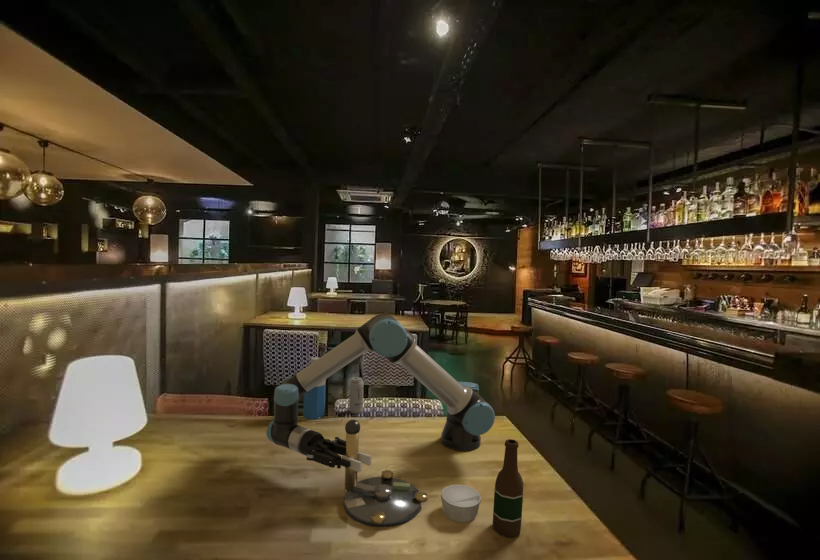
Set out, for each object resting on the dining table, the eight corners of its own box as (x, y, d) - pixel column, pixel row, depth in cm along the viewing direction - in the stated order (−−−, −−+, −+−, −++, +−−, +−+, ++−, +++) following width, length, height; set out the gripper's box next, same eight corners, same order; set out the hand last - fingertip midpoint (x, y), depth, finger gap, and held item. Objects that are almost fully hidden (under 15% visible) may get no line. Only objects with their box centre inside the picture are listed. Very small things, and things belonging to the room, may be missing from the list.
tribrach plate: (427, 482, 138) (428, 472, 138) (426, 535, 113) (427, 523, 113) (352, 477, 140) (353, 468, 139) (334, 528, 114) (335, 516, 114)
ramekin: (469, 530, 115) (470, 511, 115) (432, 515, 121) (433, 497, 121) (486, 510, 125) (487, 492, 125) (451, 497, 131) (451, 480, 130)
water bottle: (329, 413, 193) (330, 357, 191) (317, 420, 184) (319, 362, 182) (310, 410, 196) (311, 354, 194) (298, 417, 187) (299, 359, 185)
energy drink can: (356, 415, 192) (357, 381, 191) (346, 411, 195) (347, 378, 194) (365, 411, 197) (366, 378, 196) (355, 408, 200) (356, 375, 199)
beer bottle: (488, 520, 120) (493, 434, 118) (516, 519, 121) (521, 435, 119) (496, 539, 112) (501, 447, 111) (526, 538, 113) (531, 448, 111)
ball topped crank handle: (393, 492, 128) (396, 423, 126) (388, 502, 123) (391, 429, 122) (347, 483, 132) (349, 416, 130) (340, 492, 127) (342, 422, 126)
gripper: (325, 444, 145) (382, 465, 133) (285, 464, 131) (345, 489, 118) (326, 421, 145) (383, 440, 132) (286, 439, 130) (346, 462, 118)
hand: (365, 463), depth 125 cm, fingers open, 4 cm apart
